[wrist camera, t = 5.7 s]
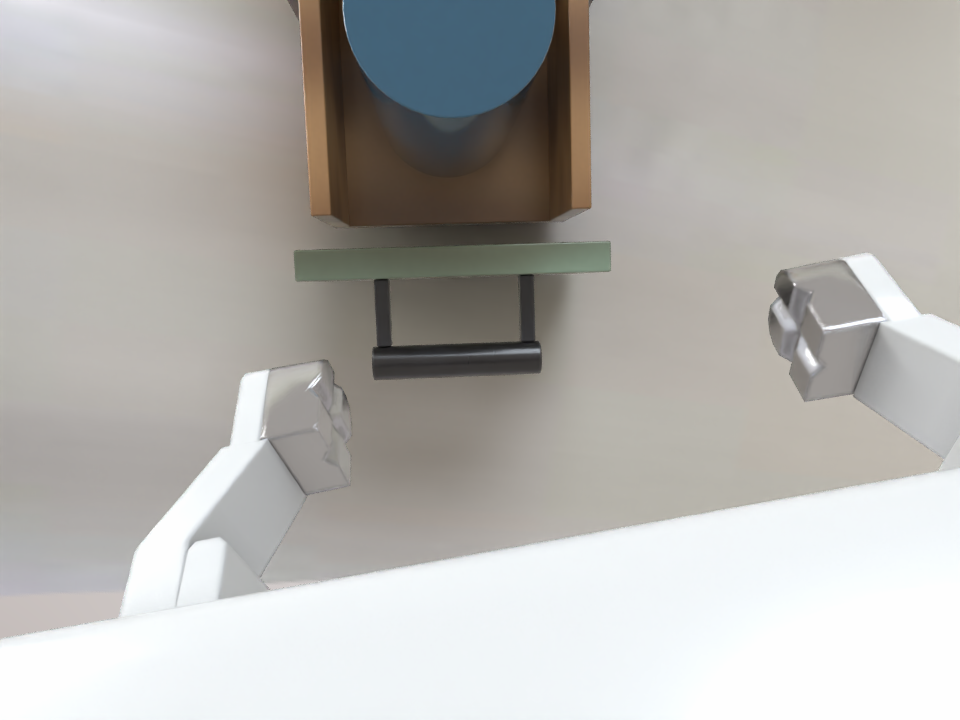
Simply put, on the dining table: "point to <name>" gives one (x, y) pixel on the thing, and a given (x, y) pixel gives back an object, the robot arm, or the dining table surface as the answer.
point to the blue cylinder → (448, 73)
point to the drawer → (447, 192)
